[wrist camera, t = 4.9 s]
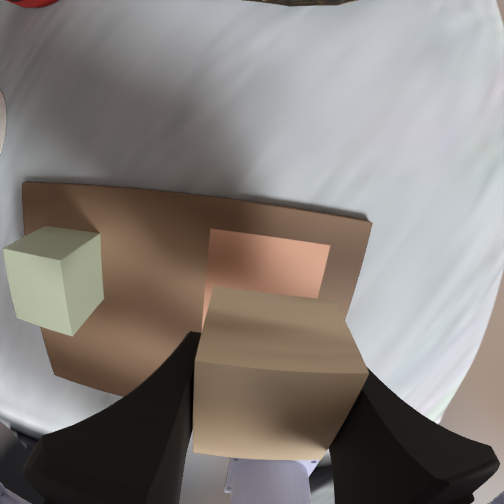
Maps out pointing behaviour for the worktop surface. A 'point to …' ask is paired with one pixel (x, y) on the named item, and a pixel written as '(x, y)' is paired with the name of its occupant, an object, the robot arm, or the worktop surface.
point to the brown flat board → (183, 268)
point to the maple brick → (273, 376)
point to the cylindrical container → (2, 120)
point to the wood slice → (304, 2)
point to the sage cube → (55, 277)
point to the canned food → (32, 3)
